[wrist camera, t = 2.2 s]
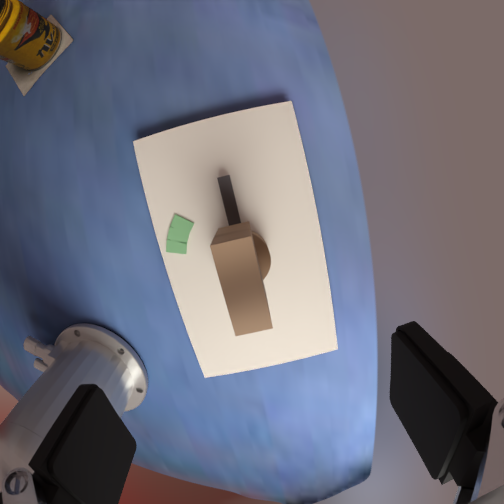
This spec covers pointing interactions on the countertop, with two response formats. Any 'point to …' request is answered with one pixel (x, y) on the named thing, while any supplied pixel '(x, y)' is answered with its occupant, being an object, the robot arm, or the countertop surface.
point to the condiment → (29, 42)
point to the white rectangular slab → (250, 209)
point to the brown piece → (241, 267)
